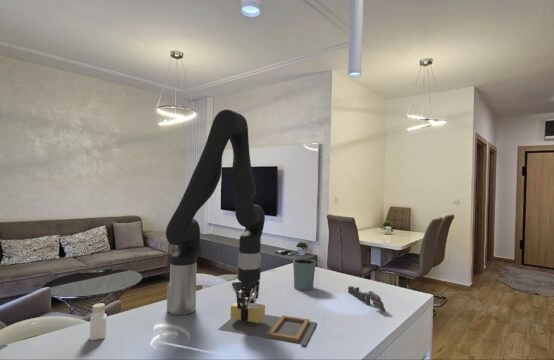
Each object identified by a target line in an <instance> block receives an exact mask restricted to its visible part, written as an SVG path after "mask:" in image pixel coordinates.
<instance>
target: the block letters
mask: <svg viewBox="0 0 554 360" xmlns="http://www.w3.org/2000/svg"><path fill="white" fill-rule="evenodd" d="M347 290H348V291H347V293H349V294H350V295H352V296H354V298H356V299H357V300H359V301H361V302H362V303H363V304H365V305H366V306H371V303H372V305H373V306H374V307H375V308H376V309H378V310H379V311H381V313H386V312H387V311H386V308H385V306H384V305H385V304H384V302H383V301H382V298H381V297H380V295H379V294H377V293H375V292H373V291H371V290H369V291H368V292H367V291H366V292H362V291H360V287H354V286H352V285H351V286H348V287H347Z"/></svg>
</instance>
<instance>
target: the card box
mask: <svg viewBox="0 0 554 360" xmlns="http://www.w3.org/2000/svg"><path fill="white" fill-rule="evenodd" d="M265 312H266V304H261V303H257V302H255V303H250V302H249V306H248V320H247V321H250V322H255V323H260V321H261V320H262V319H263V318H264V317H265V315H266V313H265ZM231 318H234V319H239V320H241V309H238V308H237V300H236V301H235V302H234V303H232V304H231V305H230V319H231Z"/></svg>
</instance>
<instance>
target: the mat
mask: <svg viewBox="0 0 554 360" xmlns="http://www.w3.org/2000/svg"><path fill="white" fill-rule="evenodd" d="M316 327H317V322H315V321H311V320H310V319H309V318H303V317H302V318H301V317H295V316H290V315H283V314H282V315H281V316H277V315H272V314H265V317H264V318H263V319H262V320H261V321H260V323H255V322H250V321H242V320H239V319H234V318H231V317H230V318H229V319H228V320H227V321H226V322H225V323H223V325H221V326H219V328H217V330H219V331H222V332H230V333H233V334H240V335H246V336H252V337H257V338H262V339H267V340H272V341H274V340H275V341H280V342H285V343H289V344H290V343H291V344H296V345H300V347H303V348H305V347H306V346H307V345H308V342H309V340H310V338H311V336H312V334H313V332H314V331H315V328H316Z"/></svg>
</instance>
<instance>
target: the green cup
mask: <svg viewBox="0 0 554 360" xmlns="http://www.w3.org/2000/svg"><path fill="white" fill-rule="evenodd" d="M316 263H317V262H316V261H315V260H314V259H310V258H296V259H293V261H292V266H293V267H292V268H293V288H294V289H295V290H296V289H297V290H296V291H299V290H300V291H301V292H309V290H310V291H312V290H313V289H314V284H315V283H314V281H315V280H314V279H315V272H316V265H317V264H316Z"/></svg>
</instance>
